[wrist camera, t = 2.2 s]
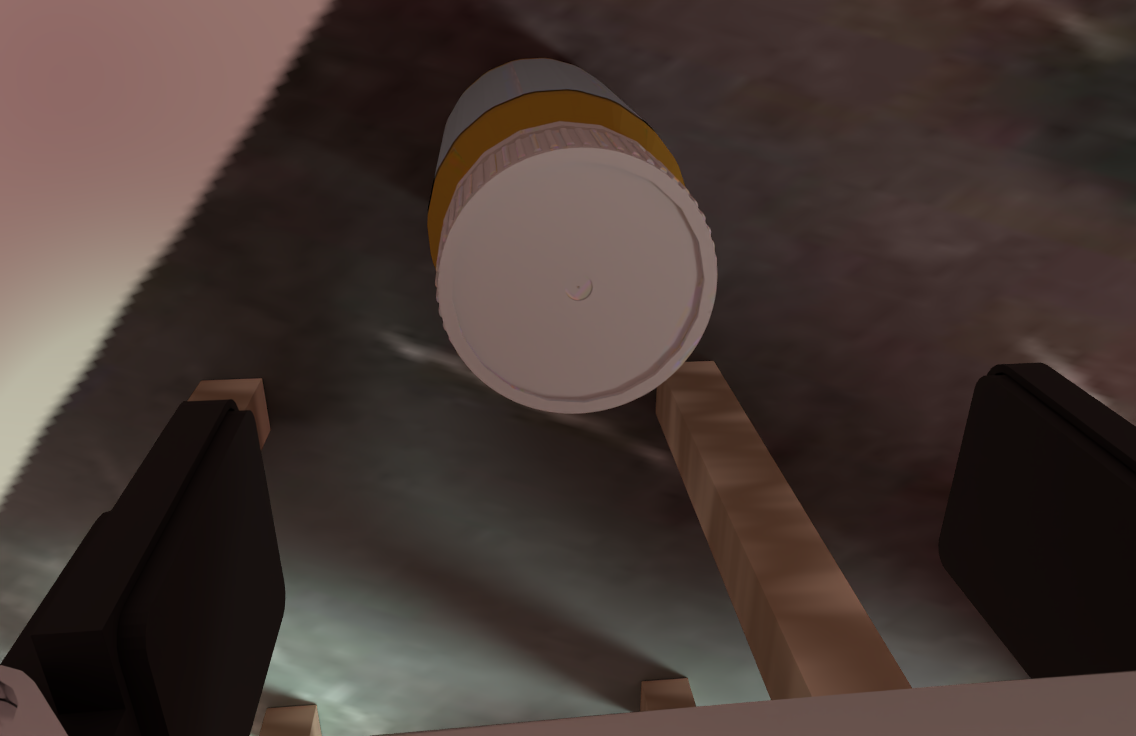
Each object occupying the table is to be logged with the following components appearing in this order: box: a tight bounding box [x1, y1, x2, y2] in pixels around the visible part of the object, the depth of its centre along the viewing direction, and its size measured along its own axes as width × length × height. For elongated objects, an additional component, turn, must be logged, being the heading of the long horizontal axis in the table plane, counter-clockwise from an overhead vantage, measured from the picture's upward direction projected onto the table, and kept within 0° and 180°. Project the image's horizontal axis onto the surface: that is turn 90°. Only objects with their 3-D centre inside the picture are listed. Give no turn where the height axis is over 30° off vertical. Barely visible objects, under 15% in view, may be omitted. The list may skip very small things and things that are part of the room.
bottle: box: [427, 58, 717, 414], centre depth 25 cm, size 7×7×15 cm
